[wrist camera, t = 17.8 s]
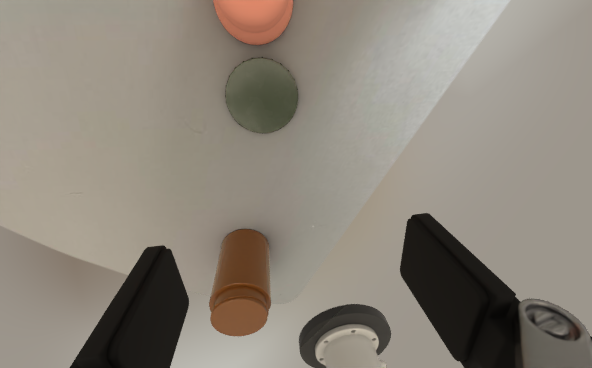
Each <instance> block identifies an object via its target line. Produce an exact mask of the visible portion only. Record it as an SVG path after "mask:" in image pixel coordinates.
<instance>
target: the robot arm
mask: <svg viewBox="0 0 592 368" xmlns="http://www.w3.org/2000/svg"><path fill="white" fill-rule="evenodd" d="M400 272H401V276H402V278H403V279H404V281H405V282H406V284H407V286H408V287H409V289H410V290H411V292H412V294H413V295H414V297H415V298H416V300H417V301H418V303H419V304H420V306H421V308H422V309H423V310H424V312H425V314H426V315H427V317H428V319H429V320H430V322H431V323H432V325H433V326H434V328H435V330H436V331H437V332H438V334H439V336H440V337H441V339H442V341H443V342H444V343H445V345H446V347H447V348H448V350H449V351H450V353H451V354H452V356H453V357H454V359H455V360H457V361H460V362H461V363H462V365H463V366H464V368H592V337H591V336H590V335H589V333H588V331H587V329H586V327H585V326H584V325H583V324H582V323H581V322H580V321H579V319H577V318H576V317H575V316H573V315H572V314H571V313H569V312H568V311H567V310H565V309H563V308H561V307H559V306H557V305H555V304H552V303H550V302H548V301H544V300H540V299H526V300H523V301H522V302H520V301H519V300H518V299H517V298H516V297H515V295H516V294H515V293H514V292H513V291H512V290H511V289H510V288H509V287H508V286H507V285H506V284H504V283H503V282H502V281H501V280H500V279H499V278H498V277H497V276H496V275H495V274H494V273H492V272H491V270H489V269H488V268H487V267H486V266H485V265H484V264H483V263H482V262H481V261H480V260H479V259H478V258H476V257H475V256H474V255H473V254H472V253H471V252H470V251H469V250H468V249H467V248H466V247H465V246H463V245H462V244H461V243H460V242H459V241H458V240H457V239H456V238H455V237H453V235H451V234H450V233H449V232H448V231H447V230H446V229H445V228H444V227H443V226H442V225H441V224H440V223H438V222H437V221H436V220H435V219H434V218H433V217H432V216H431V215H430V214H428V213H424V214H416V215H412V217H411V219H408V221H407V226H406V233H405V239H404V246H403V253H402V259H401V266H400ZM188 306H189V298H188V295H187V292H186V290H185V287H184V284H183V281H182V279H181V276H180V273H179V270H178V268H177V265H176V262H175V259H174V257H173V254H172V251H171V250H170V249H166V247H165V246H154V247H148V248H146V249H145V250H144V252H143V253H142V255H141V257H140V258H139V260H138V261H137V263H136V265H135V266H134V268H133V269H132V271H131V272H130V274H129V276H128V277H127V279H126V281H125V282H124V283H123V285H122V287H121V288H120V290H119V291H118V293H117V294H116V296H115V298H114V299H113V300H112V302H111V304H110V305H109V307H108V308H107V310H106V311H105V313H104V315H103V316H102V318H101V319H100V321H99V322H98V324H97V326H96V327H95V329H94V330H93V332H92V333H91V335H90V337H89V338H88V340H87V341H86V343H85V345H84V346H83V348H82V349H81V351H80V352H79V354H78V355H77V357H76V359H75V360H74V362H73V363H72V365H71V367H70V368H170V365H171V362H172V359H173V355H174V352H175V349H176V345H177V342H178V339H179V336H180V332H181V329H182V326H183V323H184V319H185V317H186V313H187V310H188ZM378 345H379V340H378V337H377V335H376V332H375V331H374V330H373V329H372V328H370V327H368V326H365V325H361V324H347V325H342V326H339V327H336V328H334V329H331V330H329V331H328V332H326V333H325V334H324V335H322V336H321V337H320V339H319V340H318V341H317V343H316V345H315V355H316V358H317V360H318V361H319V362H320V363H321V364H323V365H325V366H326V368H386V366H387V365H386V362H384V361H382V360H379V358H378V355H377V353H376V350H377V348H378Z"/></svg>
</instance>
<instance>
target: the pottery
mask: <svg viewBox="0 0 592 368" xmlns="http://www.w3.org/2000/svg"><path fill="white" fill-rule="evenodd" d="M213 2H214V6H215V10H216V13H217V15H218V17H219V19H220V21H221V23H222V24H223V26H224V27H225V29H226V30H227V31H228V32H229V33H230V34H231V35H232V36H234V37H235V38H236V39H238V40H240V41H242V42H244V43H247V44H251V45H262V44H267V43H269V42H271V41H273V40H274V39H276V38H277V37H279V36H280V35H281V33H282V32H283V31H284V30H285V28H286V27H287V25H288V23H289V20H290V18H291V14H292V9H293V0H213Z"/></svg>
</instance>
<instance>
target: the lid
mask: <svg viewBox="0 0 592 368" xmlns="http://www.w3.org/2000/svg"><path fill="white" fill-rule="evenodd" d="M297 90H298V89H297V87H296V84H295V81H294V79H293V77H292V76H291V74H290V73H289V70H287V69H286V68H284V67H283V66H282V64H281V63H280V64H279V63H277V62H275V61H273V59H271V60H270V59H266V58H263V57H262V58H254V59H253V58H252V59H250V60H247V61H245V62H244V61H243V63H242V64H240V65H239V66H238V67H236V68H235V70H234V71H233V72H232V74H231V75H230V76H229V79H228V82H227V85H226V95H225V97H226V103H227V106H228V109H229V111H230V113H231V115H232V116H233V118H234V119H235V120H236V121H237V122H238V123H239V124H240V125H241V126H242V127H244V128H246V129H248V130H250V131H253V132H256V133H270V132H274V131H277V130H279V129H281V128H282V127H284V126H285V125H286V124H287V123H288V122H289V121H290V120H291V118H292V117H293V115H294V113H295V111H296V108H297V103H298V92H297Z"/></svg>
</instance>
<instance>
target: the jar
mask: <svg viewBox="0 0 592 368" xmlns="http://www.w3.org/2000/svg"><path fill="white" fill-rule="evenodd" d="M209 306H210V310H211V324H212V326H213V327H214V328H215V329H216V330H217V331H219V332H220V333H223V334H225V335H229V336H245V335H249V334H252V333H255V332H257V331H258V330H259V329H261V328H262V327H263V326H264V325H265V323H266V321H267V316H268V311H269V308H270V306H271V290H270V262H269V243H268V241H267V239H266V238H265V237H264V236H263V235H262V234H261V233H259V232H257V231H255V230H251V229H241V230H236V231H234V232H232V233H230V234H229V235H227V236H226V237H225V239H224V240H223V242H222V246H221V251H220V255H219V260H218V265H217V269H216V274H215V279H214V283H213V288H212V293H211V297H210V302H209Z"/></svg>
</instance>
